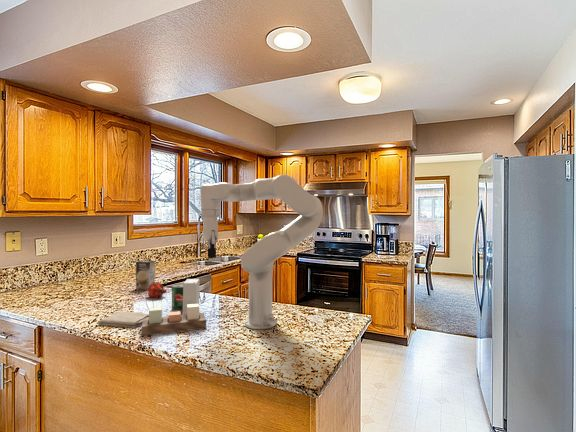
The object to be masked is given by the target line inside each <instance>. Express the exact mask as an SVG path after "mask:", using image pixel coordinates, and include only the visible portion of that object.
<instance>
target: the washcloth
mask: <svg viewBox="0 0 576 432" xmlns="http://www.w3.org/2000/svg"><path fill="white" fill-rule="evenodd" d="M145 318H149V313H144V312H142V311H138V312H137V311H136V312H135V311H123V310H122V311H121V310H119V311H117V312H115V313H113V314H111V315H110V316H107V317H106V316H105V317H104V318H102V319H99V320H98V323H97V325H99V326H108V325H109V326H110V325H111V326H110V327H121V326H125V327H124V328H137V327H140V326H142V323H143V319H145Z"/></svg>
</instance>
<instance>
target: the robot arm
mask: <svg viewBox="0 0 576 432" xmlns="http://www.w3.org/2000/svg"><path fill="white" fill-rule="evenodd" d="M263 200H280V201H282V202H283V203H284V204H286V205H287V206H288V207H289V208H290V209H291V210H293V211H294V212H295V213H296V214H297V215H299V216H298V217H297V218H296V219H294V220H292V221H291V222H290V223H288V224H287V225H286V226H284V227H283V228H281V229H280V230H277V231H274V232H273V231H272V232H270V233H269V234H266V235H265V236H264V237H262V238H260V240H258V241H256V242H255V243H254V244H253V245H252V246H250V247H249V248H247V249H246V250H245V251H244V252H243V254H242V255H241V257H240V265H241V268H242V269H243V270H244V271H245V272H247V273H249V274H248V318H247V319H246V320H245V321H244V326H245V327H246V328H248V329H251V330H252V329H253V330H265V329H266V330H268V329H272V328H274V327H276V325H277V323H278V320H277V318H276V319H275V317H274V315H275V314H274V313H273V273H274V264H275V262H276V261H277V260H278V259H280V258H281V257H283V256H285V255H287V254H288V253H289V252H291V250H293V249H294V248H295V247H296V246H297V245H299V244H300V243H302V242H304V240H306V239H307V238H309V236H311V235H312V234H313V233H314V232H315V231H316V230H317V229H318V228H319V226H320V225H321V222H322V220H323V215H324V210H323V204H322V201H321V199H320V198H318V196H316V195H313V194H311V193H310V192H308V191H307V190H306V189H305V188H303V186H301V185H299V184H298V182H297V180H296V178H294V177H292V176H290V175H288V174H280V175H279V174H278V175H277V176H275V177H268V178H265V177H264V178H257V179H255V180H254V181H253V182H249V183H236V184H233V183H229V182H218V183H214V184H213V183H207V184H205V183H204V184H202V185H201V186H200V208H201V209H200V212H201V214H200V215H201V218H202V219H203V223H202V224H203V225H202V227H203V228H202V229H203V231H202V232H203V233H202V234H203V235H202V236H203V239H202V240H203V241H205V242H206V243H207V247H206V248H207V258H208V259H215V258H217V249H216V242H217V241H218V240H219V221H218V218H221V215H220V214H221V213H220V211H221V208H220V206H221V205H220V201H221V202H231V203H232V202H234V203H235V202H236V203H237V202H248V201H249V202H250V201H263Z"/></svg>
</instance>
